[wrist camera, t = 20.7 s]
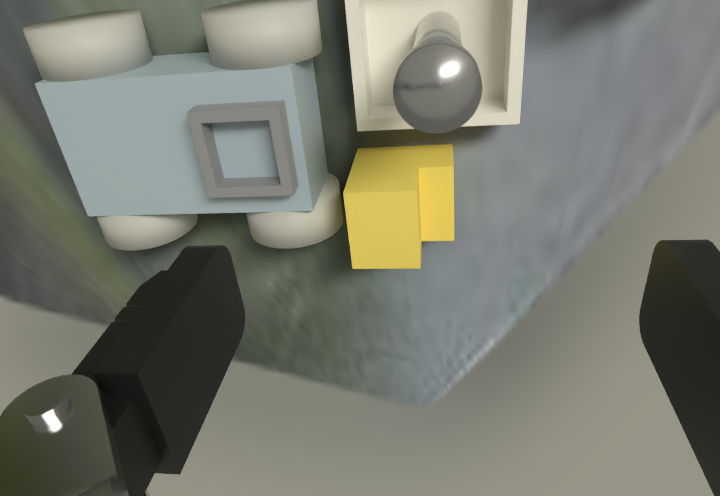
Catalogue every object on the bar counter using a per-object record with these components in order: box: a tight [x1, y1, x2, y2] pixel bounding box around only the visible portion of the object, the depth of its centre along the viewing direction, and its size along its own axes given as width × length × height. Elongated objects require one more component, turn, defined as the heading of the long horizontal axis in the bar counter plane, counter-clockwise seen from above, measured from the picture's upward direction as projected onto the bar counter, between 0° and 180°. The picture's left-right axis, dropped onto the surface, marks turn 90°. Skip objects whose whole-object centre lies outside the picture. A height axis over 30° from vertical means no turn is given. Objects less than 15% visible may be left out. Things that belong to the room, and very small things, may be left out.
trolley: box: [23, 0, 343, 251], centre depth 32 cm, size 16×13×7 cm
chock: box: [343, 144, 454, 269], centre depth 33 cm, size 6×5×6 cm
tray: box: [345, 0, 528, 131], centre depth 29 cm, size 9×9×3 cm
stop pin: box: [393, 11, 482, 134], centre depth 26 cm, size 3×3×11 cm
